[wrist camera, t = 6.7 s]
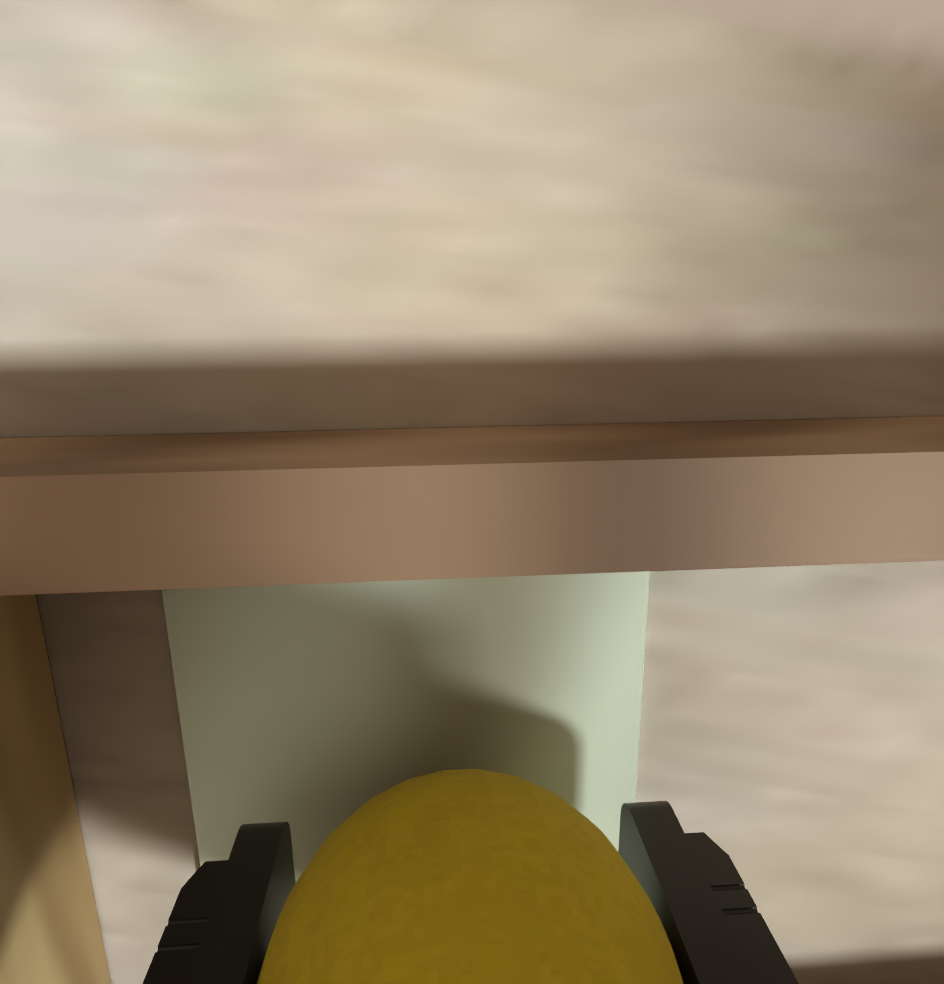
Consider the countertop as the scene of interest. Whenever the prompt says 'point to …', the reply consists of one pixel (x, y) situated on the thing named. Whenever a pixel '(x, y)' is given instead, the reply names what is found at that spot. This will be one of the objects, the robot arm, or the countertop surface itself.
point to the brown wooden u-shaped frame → (397, 609)
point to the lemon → (468, 894)
